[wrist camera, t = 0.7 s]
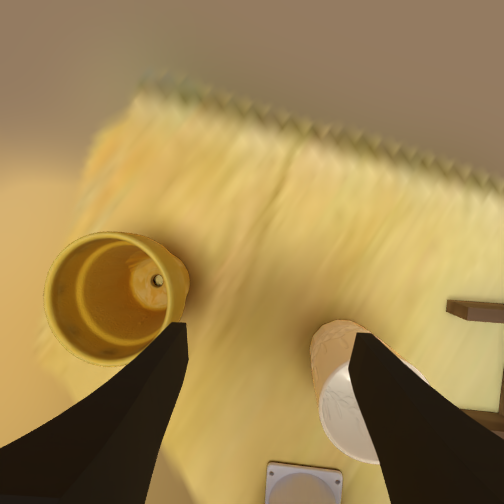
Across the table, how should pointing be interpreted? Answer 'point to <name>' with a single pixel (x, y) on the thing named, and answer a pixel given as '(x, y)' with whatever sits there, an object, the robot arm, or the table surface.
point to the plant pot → (113, 296)
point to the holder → (500, 422)
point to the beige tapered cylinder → (342, 389)
